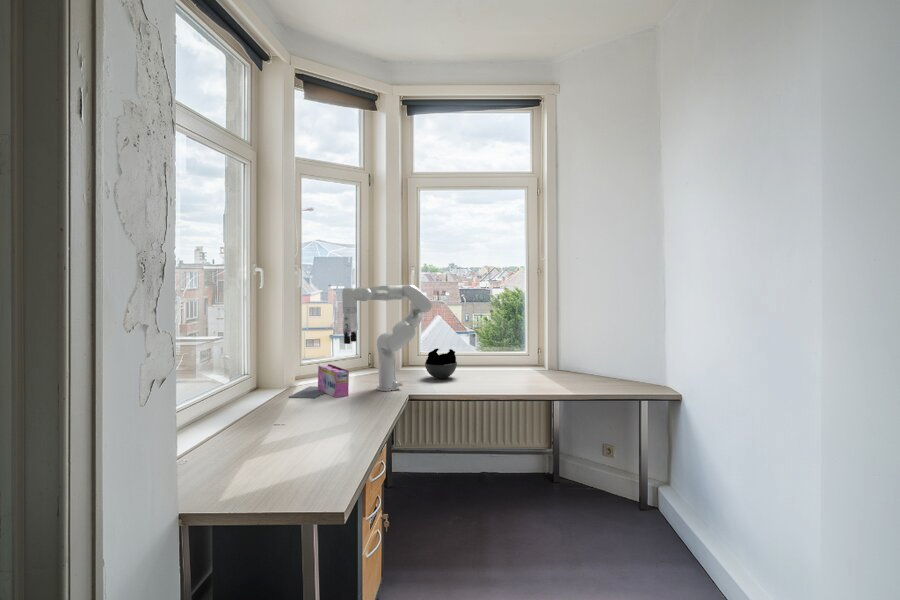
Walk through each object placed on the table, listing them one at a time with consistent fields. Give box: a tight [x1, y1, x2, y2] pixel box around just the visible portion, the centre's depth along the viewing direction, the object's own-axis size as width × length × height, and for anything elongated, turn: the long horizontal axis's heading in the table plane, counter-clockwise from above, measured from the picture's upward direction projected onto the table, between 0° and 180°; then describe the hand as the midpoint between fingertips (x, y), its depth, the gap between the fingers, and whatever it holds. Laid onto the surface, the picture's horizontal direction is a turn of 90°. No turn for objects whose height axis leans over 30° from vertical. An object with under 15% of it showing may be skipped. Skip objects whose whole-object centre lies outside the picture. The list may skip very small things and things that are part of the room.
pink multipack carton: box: [317, 363, 350, 398], centre depth 277 cm, size 24×8×14 cm, turn 39°
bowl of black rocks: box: [424, 348, 458, 380], centre depth 313 cm, size 20×20×19 cm
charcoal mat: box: [288, 385, 326, 399], centre depth 279 cm, size 15×25×1 cm, turn 170°
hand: (350, 342), depth 274 cm, fingers open, 8 cm apart
